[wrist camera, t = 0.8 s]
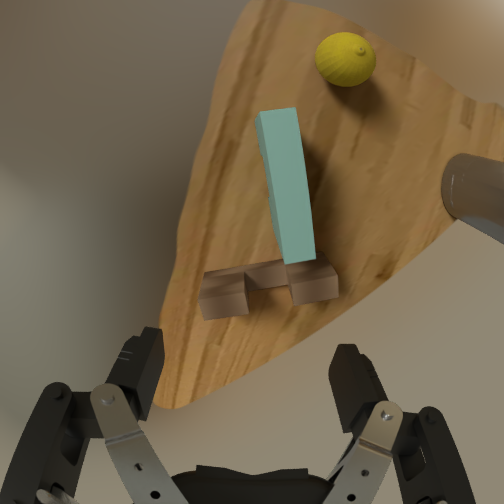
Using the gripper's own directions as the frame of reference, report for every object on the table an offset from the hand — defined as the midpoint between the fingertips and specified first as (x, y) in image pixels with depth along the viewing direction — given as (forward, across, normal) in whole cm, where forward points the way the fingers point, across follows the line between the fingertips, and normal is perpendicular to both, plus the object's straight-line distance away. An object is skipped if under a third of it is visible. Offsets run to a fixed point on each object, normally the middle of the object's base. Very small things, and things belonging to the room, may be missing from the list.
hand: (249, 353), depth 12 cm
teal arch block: (+20, -2, -6) cm, 21 cm away
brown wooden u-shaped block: (+20, -2, +6) cm, 21 cm away
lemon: (+21, -7, -18) cm, 28 cm away
